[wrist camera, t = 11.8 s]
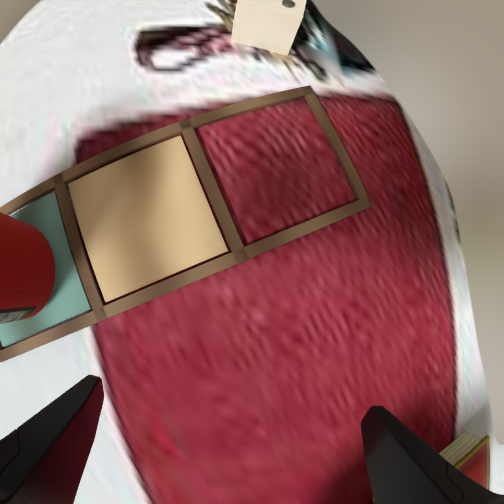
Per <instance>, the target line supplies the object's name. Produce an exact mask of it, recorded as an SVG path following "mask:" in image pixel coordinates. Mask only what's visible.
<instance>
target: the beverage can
mask: <svg viewBox="0 0 504 504" xmlns="http://www.w3.org/2000/svg"><path fill="white" fill-rule="evenodd" d="M54 282H55V261H54V256H53V252H52V249H51V247H50V244H49V242H48V241H47V239H46V238H45V236H44V235H43V234H42V233H41V232H40V231H39V230H38V229H37V228H35V227H33V226H31V225H29V224H27V223H24V222H22V221H20V220H18V219H15V218H13V217H11V216H8V215H6V214H4V213H1V212H0V324H1V323H7V322H13V321H18V320H23V319H28V318H31V317H33V316H35V315H36V314H37V313H39V312H40V311H41V310H42V309H43V308H44V306H45V305H46V303H47V302H48V300H49V298H50V296H51V293H52V290H53V287H54Z"/></svg>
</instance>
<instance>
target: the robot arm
mask: <svg viewBox="0 0 504 504" xmlns="http://www.w3.org/2000/svg"><path fill="white" fill-rule="evenodd" d="M103 401H104V391H103V385H102V379H101V378H100V377H97V376H94V375H88V376H86V377H85V378H84V379H82V380H81V381H80V382H78V383H77V384H76V385H74V386H73V387H72V388H70V389H69V390H68V391H66V392H65V393H64V394H62V395H61V396H60V397H58V398H57V399H55V400H54V401H53V402H51V403H50V404H49V405H47V406H46V407H45V408H43V409H42V410H41V411H39V412H38V413H37V414H35V415H34V416H33V417H31V418H30V419H29V420H27V421H26V422H25V423H23V424H22V425H21V426H19V427H18V428H17V429H15V430H14V431H13V432H11V433H10V434H9V435H7V436H6V437H4V438H3V439H1V440H0V504H73V503H74V499H75V496H76V493H77V490H78V486H79V483H80V480H81V477H82V474H83V471H84V468H85V465H86V462H87V459H88V456H89V454H90V451H91V448H92V445H93V442H94V439H95V435H96V430H97V426H98V421H99V417H100V413H101V409H102V405H103ZM361 431H362V439H363V447H364V456H365V462H366V467H367V471H368V475H369V480H370V484H371V489H372V494H373V498H374V503H375V504H504V495H500V494H496V493H493V492H491V491H489V490H488V489H486V488H485V487H483V486H482V485H480V484H478V483H477V482H475V481H474V480H472V479H471V478H469V477H468V476H466V475H465V474H464V473H462V472H461V471H460V470H458V469H457V468H456V467H454V466H453V465H452V464H451V463H450V462H448V461H446V459H445V458H443V457H442V456H441V455H440V454H439V453H437V452H436V451H435V450H434V449H433V448H431V447H430V446H429V445H428V444H427V443H425V442H424V441H423V440H422V439H421V438H419V437H418V436H417V435H416V434H415V433H414V432H412V431H411V430H410V429H409V428H408V427H407V426H405V425H404V424H403V423H402V422H401V421H400V420H398V419H397V418H396V417H395V416H394V415H393V414H391V413H390V412H389V411H388V410H387V409H386V408H384V407H383V406H372V407H370V408H369V410H368V412H367V413H366V415H365V416H364V418H363V419H362V422H361Z"/></svg>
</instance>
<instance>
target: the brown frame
mask: <svg viewBox="0 0 504 504" xmlns="http://www.w3.org/2000/svg"><path fill="white" fill-rule="evenodd" d="M300 98H305V99H306V101H307V103H308V105H309V106H310V108H311V110H312V112H313V114H314V115H315V117H316V119H317V121H318V123H319V124H320V126H321V128H322V130H323V132H324V134H325V136H326V138H327V139H328V141H329V143H330V145H331V147H332V149H333V151H334V153H335V155H336V157H337V159H338V161H339V163H340V165H341V167H342V169H343V171H344V173H345V175H346V177H347V180H348V182H349V184H350V186H351V188H352V190H353V192H354V195H355V197H356V199H357V201H355V202H352V203H350V204H347V205H345V206H343V207H340V208H338V209H335V210H333V211H330V212H328V213H326V214H323V215H321V216H318V217H316V218H313V219H311V220H308V221H306V222H304V223H301V224H299V225H296V226H294V227H291V228H289V229H287V230H284V231H282V232H279V233H277V234H275V235H272V236H270V237H267V238H265V239H262V240H260V241H258V242H255V243H253V244H250V245H248V246H246V247H244V246H243V244H242V242H241V239H240V237H239V234H238V232H237V230H236V227H235V225H234V223H233V220H232V218H231V216H230V213H229V211H228V209H227V206H226V204H225V202H224V199H223V197H222V195H221V192H220V190H219V188H218V185H217V183H216V180H215V178H214V176H213V173H212V171H211V169H210V166H209V164H208V162H207V159H206V157H205V155H204V152H203V150H202V147H201V145H200V143H199V140H198V138H197V136H196V133H195V131H194V129H196V128H199V127H202V126H205V125H208V124H211V123H214V122H217V121H220V120H223V119H226V118H229V117H233V116H236V115H239V114H243V113H246V112H250V111H253V110H257V109H261V108H264V107H268V106H272V105H276V104H280V103H284V102H288V101H292V100H296V99H300ZM181 133H183V136H184V138H185V141H186V143H187V146H188V148H189V151H190V153H191V156H192V158H193V161H194V163H195V165H196V168H197V170H198V173H199V175H200V178H201V180H202V182H203V185H204V187H205V190H206V192H207V195H208V197H209V199H210V202H211V204H212V207H213V209H214V211H215V214H216V216H217V218H218V221H219V223H220V226H221V228H222V230H223V233H224V235H225V238H226V240H227V242H228V245H229V247H230V249H231V253H229V254H226V255H224V256H222V257H219V258H217V259H214V260H212V261H210V262H207V263H205V264H202V265H200V266H198V267H195V268H193V269H191V270H188V271H186V272H183V273H181V274H179V275H176V276H174V277H172V278H169V279H167V280H164V281H162V282H160V283H157V284H155V285H153V286H150V287H148V288H145V289H143V290H141V291H138V292H136V293H134V294H131V295H129V296H127V297H124V298H122V299H119V300H117V301H115V302H112V303H110V304H108V305H104V303H103V300H102V298H101V295H100V292H99V290H98V287H97V284H96V282H95V279H94V276H93V273H92V270H91V268H90V265H89V262H88V259H87V256H86V253H85V250H84V246H83V243H82V240H81V237H80V234H79V230H78V227H77V223H76V220H75V216H74V213H73V209H72V205H71V202H70V198H69V194H68V190H67V186H66V183H68V182H70V181H72V180H74V179H76V178H78V177H80V176H82V175H84V174H86V173H88V172H90V171H92V170H94V169H97V168H99V167H101V166H103V165H105V164H107V163H110V162H112V161H114V160H116V159H119V158H121V157H123V156H126V155H128V154H130V153H133V152H135V151H137V150H140V149H142V148H145V147H147V146H150V145H152V144H155V143H157V142H160V141H163V140H165V139H168V138H171V137H173V136H176V135H179V134H181ZM68 186H69V190H70V194H71V198H72V202H73V205H74V209H75V213H76V216H77V220H78V223H79V227H80V230H81V233H82V237H83V240H84V243H85V246H86V249H87V252H88V255H89V258H90V261H91V264H92V267H93V270H94V273H95V276H96V278H97V281H98V284H99V287H100V289H101V292H102V295H103V297H104V300H105V302H108V301H110V300H113V299H115V298H117V297H120V296H122V295H124V294H127V293H129V292H131V291H134V290H136V289H139V288H141V287H143V286H146V285H148V284H150V283H153V282H155V281H157V280H160V279H162V278H165V277H167V276H169V275H172V274H174V273H176V272H179V271H181V270H184V269H186V268H188V267H191V266H193V265H195V264H198V263H200V262H203V261H205V260H207V259H210V258H212V257H215V256H217V255H219V254H222V253H224V252H227V251H228V249H227V247H226V245H225V242H224V240H223V238H222V235H221V233H220V230H219V228H218V226H217V223H216V221H215V219H214V216H213V214H212V211H211V209H210V207H209V204H208V202H207V199H206V197H205V194H204V192H203V190H202V187H201V185H200V182H199V180H198V177H197V175H196V173H195V170H194V168H193V165H192V163H191V160H190V158H189V155H188V153H187V150H186V148H185V145H184V143H183V140H182V138H181V135H180V136H178V137H175V138H172V139H170V140H167V141H164V142H162V143H159V144H156V145H154V146H151V147H149V148H146V149H144V150H141V151H139V152H137V153H134V154H132V155H129V156H127V157H125V158H122V159H120V160H118V161H116V162H113V163H111V164H109V165H107V166H104V167H102V168H100V169H98V170H96V171H94V172H92V173H89V174H87V175H85V176H83V177H81V178H79V179H77V180H75V181H73V182H71V183H69V184H68ZM54 189H55V190H56V192H55V191H54V192H52V193H50V194H48V195H46V196H44V197H42V198H41V199H39V200H37V201H35V202H33V203H32V204H30V205H28V206H26V207H25V208H23V209H21V210H20V211H18V212H16V213H14V214H13V215H11V217H13V218H15V219H18V220H20V221H22V222H24V223H27V224H29V225H31V226H33V227H35V228H37V229H38V230H39V231H40V232H41V233H42V234H43V235H44V236H45V238H46V239H47V241H48V242H49V244H50V247H51V249H52V252H53V256H54V261H55V282H54V287H53V290H52V293H51V296H50V298H49V300H48V302H47V303H46V305H45V306H44V308H43V309H42V310H41V311H40V312H39V313H37V314H36V315H35V316H33V317H31V318H28V319H23V320H18V321H13V322H7V323H1V324H0V341H1V343H0V362H3V361H5V360H8V359H10V358H13V357H15V356H18V355H20V354H22V353H25V352H27V351H30V350H32V349H35V348H37V347H39V346H42V345H44V344H47V343H49V342H52V341H54V340H56V339H59V338H61V337H64V336H66V335H68V334H71V333H73V332H76V331H78V330H81V329H83V328H85V327H88V326H90V325H93V324H95V323H97V322H100V321H102V320H105V319H107V318H109V317H112V316H114V315H117V314H119V313H121V312H124V311H126V310H129V309H131V308H133V307H136V306H138V305H141V304H143V303H145V302H148V301H150V300H152V299H155V298H157V297H160V296H162V295H164V294H167V293H169V292H172V291H174V290H176V289H179V288H181V287H183V286H186V285H188V284H191V283H193V282H195V281H198V280H200V279H202V278H205V277H207V276H210V275H212V274H214V273H217V272H219V271H221V270H224V269H226V268H229V267H231V266H233V265H236V264H238V263H240V262H243V261H245V260H247V259H250V258H252V257H255V256H257V255H259V254H262V253H264V252H266V251H269V250H271V249H273V248H276V247H278V246H280V245H283V244H285V243H287V242H290V241H292V240H295V239H297V238H299V237H302V236H304V235H306V234H309V233H311V232H313V231H316V230H318V229H320V228H323V227H325V226H327V225H330V224H332V223H334V222H337V221H339V220H341V219H344V218H346V217H348V216H351V215H353V214H355V213H358V212H360V211H362V210H365V209H367V208H369V207H371V206H372V204H371V202H370V199H369V197H368V195H367V193H366V191H365V189H364V186H363V184H362V182H361V180H360V178H359V176H358V174H357V172H356V170H355V168H354V165H353V163H352V161H351V159H350V157H349V155H348V153H347V152H346V150H345V148H344V146H343V144H342V142H341V140H340V138H339V136H338V134H337V132H336V131H335V129H334V127H333V125H332V123H331V121H330V120H329V118H328V116H327V114H326V112H325V111H324V109H323V107H322V105H321V104H320V102H319V100H318V98H317V97H316V95H315V93H314V92H313V90H312V88H311V87H310V86H305V87H300V88H295V89H291V90H286V91H282V92H278V93H274V94H269V95H265V96H262V97H258V98H254V99H250V100H246V101H243V102H239V103H236V104H232V105H229V106H225V107H222V108H219V109H216V110H212V111H209V112H206V113H203V114H200V115H197V116H194V117H191V118H188V119H185V120H182V121H179V122H176V123H174V124H171V125H168V126H165V127H163V128H160V129H157V130H155V131H152V132H150V133H147V134H145V135H142V136H140V137H137V138H135V139H132V140H130V141H127V142H125V143H123V144H120V145H118V146H116V147H114V148H111V149H109V150H107V151H105V152H102V153H100V154H98V155H96V156H94V157H92V158H89V159H87V160H85V161H83V162H81V163H79V164H77V165H75V166H73V167H71V168H69V169H67V170H65V171H63V172H61V173H59V174H57V175H56V176H54V177H52V178H50V179H48V180H46V181H44V182H43V183H41V184H39V185H37V186H35V187H34V188H32V189H30V190H28V191H27V192H25V193H23V194H22V195H20V196H18V197H16V198H15V199H13V200H12V201H10V202H8V203H7V204H5V205H3V206H2V207H0V212H1V213H4V214H6V215H10V214H12V213H13V212H15V211H17V210H18V209H20V208H22V207H24V206H25V205H27V204H29V203H31V202H32V201H34V200H36V199H38V198H39V197H41V196H43V195H45V194H47V193H49V192H50V191H52V190H54ZM56 194H57V197H56ZM57 198H58V201H57ZM58 202H59V205H58ZM59 207H60V209H59ZM60 210H61V213H60ZM61 214H62V217H61ZM62 218H63V221H62ZM63 222H64V224H63ZM64 226H65V228H64ZM65 229H66V232H65ZM66 233H67V235H66ZM67 236H68V239H67ZM68 240H69V242H68ZM69 243H70V245H69ZM70 246H71V249H70ZM71 250H72V252H71ZM72 253H73V255H72ZM73 256H74V258H73ZM74 259H75V261H74ZM75 262H76V264H75ZM76 265H77V267H76ZM77 268H78V270H77ZM78 271H79V273H78ZM79 274H80V276H79ZM80 277H81V279H80ZM81 280H82V282H81ZM82 283H83V285H82ZM83 286H84V288H85V290H84V288H83ZM85 291H86V293H85ZM86 294H87V296H86ZM87 297H88V298H87ZM88 299H89V301H88ZM89 302H90V304H91V306H90V304H89ZM91 307H92V310H93V311H91V312H89V313H87V314H84V315H82V316H80V317H77V318H75V319H73V320H70V321H68V322H66V323H63V324H61V325H59V326H56V327H54V328H52V329H49V330H47V331H45V332H42V333H40V334H38V335H35V336H33V337H31V338H29V339H26V340H24V341H22V342H19V343H17V344H15V345H12V346H10V347H8V348H6V349H3V348H2V346H3V347H4V346H7V345H9V344H11V343H13V342H16V341H18V340H20V339H23V338H25V337H27V336H29V335H32V334H34V333H36V332H39V331H41V330H43V329H45V328H48V327H50V326H52V325H55V324H57V323H59V322H62V321H64V320H66V319H68V318H71V317H73V316H75V315H78V314H80V313H82V312H85V311H87V310H89V309H91ZM1 344H2V346H1Z"/></svg>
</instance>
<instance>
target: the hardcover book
mask: <svg viewBox="0 0 504 504" xmlns="http://www.w3.org/2000/svg"><path fill="white" fill-rule="evenodd" d="M439 454H440V455H441V456H442V457H443V458H445V459H446V461H448V462H450V463H451V464H452V465H453V466H454V467H456V468H457V469H458V470H460V471H461V472H462V473H464V474H465V475H466V476H468V477H469V478H471V479H472V480H474V481H475V482H477V483H478V484H480V485H482V486H483V487H485V488H486V489H488V490H489V475H490V449H489V436H487V435H486V436H485V437H484V438H483V439H480V438H477V437H475V436H473V435H471V434H469V433H467V432H463V433H462V434H461V435H460V436H459V437H458V438H457V439H455V440H454V441H453V442H452V443H451V444H450V445H448V446H447V447H446V448H445V449H444V450H442V451H441V452H440V453H439ZM371 498H372V501H373V503H374V498H373V497H371ZM374 504H375V503H374Z"/></svg>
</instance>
